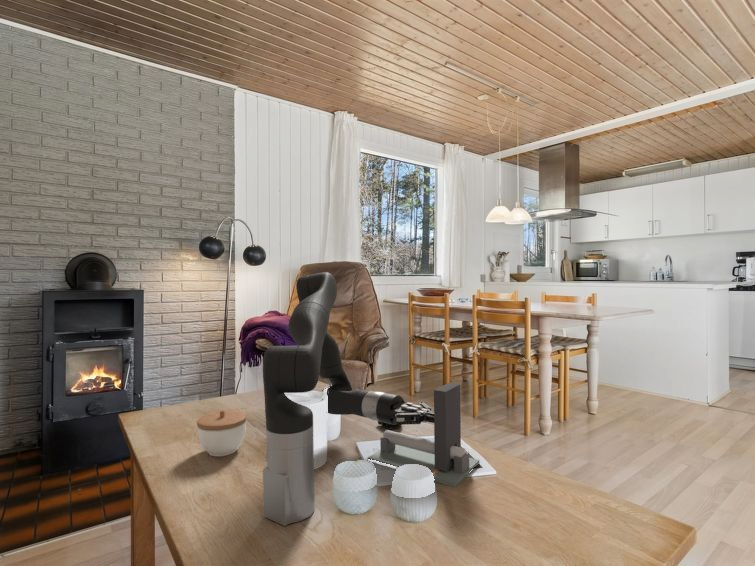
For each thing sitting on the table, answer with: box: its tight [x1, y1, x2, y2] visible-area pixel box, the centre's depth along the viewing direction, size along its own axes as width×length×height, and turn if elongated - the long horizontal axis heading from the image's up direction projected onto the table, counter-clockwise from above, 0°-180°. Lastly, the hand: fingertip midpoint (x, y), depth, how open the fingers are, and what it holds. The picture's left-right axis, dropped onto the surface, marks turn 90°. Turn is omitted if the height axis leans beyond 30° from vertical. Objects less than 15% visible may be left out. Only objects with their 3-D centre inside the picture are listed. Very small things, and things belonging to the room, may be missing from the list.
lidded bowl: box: [196, 409, 248, 458], centre depth 118 cm, size 13×13×11 cm
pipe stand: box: [367, 429, 480, 488], centre depth 109 cm, size 14×24×6 cm, turn 55°
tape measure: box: [377, 421, 402, 429], centre depth 135 cm, size 7×7×4 cm
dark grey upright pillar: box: [433, 382, 462, 472], centre depth 105 cm, size 8×3×19 cm, turn 145°
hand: (441, 419), depth 105 cm, fingers closed
